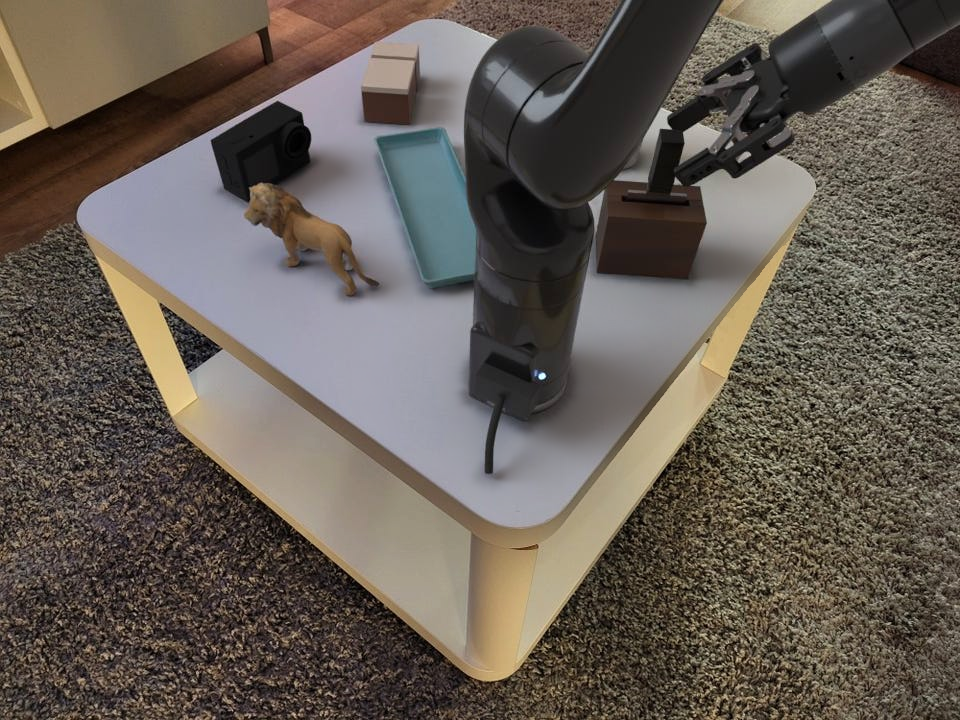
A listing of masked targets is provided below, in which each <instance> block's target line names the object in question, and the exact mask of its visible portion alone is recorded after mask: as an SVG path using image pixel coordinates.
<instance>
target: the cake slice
mask: <svg viewBox="0 0 960 720" xmlns="http://www.w3.org/2000/svg"><path fill="white" fill-rule="evenodd" d="M370 58H381V59H396V60H411V61H415V77H416V94H417V93H418V90H419V86H420V82H421V67H420V66H421V64H420V44H419V43H418V44H417V43H403V42H402V43H401V42H389V41H388V42H387V41H374V44H373V48H372V50H371V53H370Z"/></svg>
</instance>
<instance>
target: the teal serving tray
mask: <svg viewBox="0 0 960 720" xmlns="http://www.w3.org/2000/svg"><path fill="white" fill-rule="evenodd" d="M373 142H374V145H375V147H376V151H377V153H378V155H379V158H380V162H381V164H382V166H383V170H384V173H385V175H386V178H387V181H388V183H389V187H390V189H391V193H392V196H393V200H394V202H395V206H396V207H397V212H398V214H399V216H400V219H401V222H402V224H403V228H404V231H405V234H406V237H407V240H408V243H409V246H410V249H411V251H412V254H413V258H414V261H415V263H416V266H417V270H418V272H419V276H420V279H421V281H422V283H423V284H425V286H427V287H428V288H430V289H437V288H441V287H447V286H453V285H457V284H463V283H469V282H474V274H475V249H476V229H475V226H474V223H473V220H472V218H471V215H470V212H469V209H468V204H467V198H466V181H465V171H464V170H463V168H462V165H461V163H460V160H459V159H458V158H459V157H458V155H457V154H456V152H455V149H454V147H453V144H452V141H451V139H450V137H449V135H448V132H447V130H446V128H445V127H442V126H437V127H431V128H424V129H418V130H417V129H416V130H411V131H410V130H409V131H404V132H395V133H390V134H382V135H377V136H374V138H373Z"/></svg>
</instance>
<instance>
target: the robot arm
mask: <svg viewBox="0 0 960 720" xmlns="http://www.w3.org/2000/svg"><path fill="white" fill-rule="evenodd" d="M724 1H725V0H619V1H618V3H617V5H616V7H615V9H614V11H613V12H612V15H611V16H610V18H609V20H608V22H607V23H606V25H605V27H604V29H603V30H602V32H601V34H600V35H599V38H598V39H597V41H596V42H595V44H594V45H593V47H592V49H591V50H590V52H589V53H588V52H587V51H586V50H584V49H583V48H582V47H580V46H579V45H578V44H576V42H574V41H572V40H571V39H569V38H568V37H567V36H565V35H564V34H562V33H561V32H559V31H557V30H555V29H553V28H550V27H548V26H544V25H525V26H521V27H518V28H515V29H513V30H511V31H509V32H507V33H505V34H503V35H502V36H501V37H499V38H498V39H497V40H496V41H495V42H494V43H492V44H491V46H489V48H488V49H487V50H486V51H485V53H484V54H483V55H482V57H481V59H480V60H479V61H478V64H477V66H476V68H475V70H474V72H473V74H472V76H471V78H470V83H469V85H468V90H467V94H466V98H465V105H464V113H463V114H464V116H463V117H464V118H463V148H464V150H463V151H464V152H463V153H464V174H465V181H466V198H467V204H468V209H469V212H470V215H471V218H472V220H473V223H474V226H475V229H476V249H475V274H474V281H473V304H472V305H473V307H472V308H473V309H472V326H471V328H470V330H469V361H468V362H469V364H468V392H467V393H468V395H469V396H470V397H471V398H474V399H475V400H478V401H480V402H482V403H484V404H486V405H488V406H490V407H491V408H493V409H492V412H491V413H492V414H491V417H490V420H489V425H488V429H487V434H486V440H485V447H484V448H485V449H484V473H485V475H492V474H493V473H494V450H495V441H496V436H497V430H498V426H499V423H500V419H501V415H502V413H505V414H508V415H510V416H512V417H514V418H516V419H518V420H521V421H523V422H526V421H527V420H528V419H529V418H530V416H531V415H533V414H535V413H539V412H541V411H545V410H546V409H548V408H550V407H552V406H553V405H555V404H556V403H557V402H558V401H559V400H560V399H561V397H562V396H563V395H564V393H565V391H566V388H567V385H568V378H569V369H570V364H571V357H572V352H573V346H574V341H575V335H576V331H577V325H578V321H579V315H580V309H581V304H582V299H583V293H584V289H585V288H584V287H585V283H586V279H587V275H588V267H589V262H590V258H591V253H592V247H593V242H594V236H595V229H596V228H595V217H594V213H593V210H592V207H591V204H590V203H589V202H591V201H592V200H594V199H595V198H597V196H599V195H601V193H603V192H604V189H605V188H606V187H607V186H608V185H609V184H610V183H611V182H612V181H613V180H616V178H617V177H618V176H619V174H621V172H622V171H623V170H624V169H623V168H624V167H625V165H626V164H627V162H628V161H629V160H630V158H631V157H632V155H633V154H634V152H635V151H636V149H637V148H638V146H639V145H640V143H641V141H642V140H643V141H644V139H643V138H645V136H646V135H647V133H648V132H649V129H650V128H651V126H652V124H654V123H653V122H654V121H655V119H656V118H657V116H658V114H659V112H660V110H661V109H662V107H663V105H664V104H665V102H666V100H667V98H668V96H669V95H670V93H671V91H672V90H673V88H674V86H675V83H676V82H677V80H678V79H679V78H680V75H681V74H682V71H683V70H684V68H685V66H686V64H687V62H688V61H689V59H690V58H691V55H692V54H693V52H694V51H695V49H696V47H697V45H698V43H699V42H700V40H701V38H702V37H703V34H704V33H705V31H706V29H707V28H708V26H709V25H710V23H711V22H712V20H713V18H714V16H715V15H716V14H717V12H718V10H719V9H720V7H721V6H722V4H723V3H724ZM958 26H960V0H829V2H826V3H825V4H824V5H822V6H821V7H819V8H818V9H816V10H815V11H814V12H812V13H810V14H808V15H807V16H806V17H805V18H802V20H800V21H798V22H797V23H795V24H794V25H793V26H791V27H790V28H788V29H787V30H785V31H783V32H782V33H780V34H779V35H778V36H776V37H774V38H773V39H771V41H769V44H768V48H767V49H768V54H769V57H768V56H767V54H766V53H765V52H764V50H763V48H762V47H761V45H760V44H759V43H758V42H754V43H752V44H750V45H748V46H747V47H745V48H744V49H742V50H741V51H739V52H738V53H736V54H734V55H733V56H731V57H730V58H728V59H726V60H725V61H723V62H722V63H720V64H719V65H717V66H716V67H714V68H713V69H711V70H709V71H708V72H706V73H705V74H704V75H703V76H702V77H701V81H702V83H703V86H702V87H700V89H699V90H698V91H697V95H696V96H695V97H693V98H692V99H690V100H689V101H687V102H686V103H684V104H683V105H682V106H679V108H677V109H676V110H674V111H672V112H671V113H670V114H668V115H667V117H666V121H667V125H668V127H670V129H673V130H683V133H685V132H686V131H688V130H689V129H690V128H693V127H694V126H696V125H697V124H698V123H700V122H702V121H703V120H705V119H706V118H708V117H709V116H711V113H716V112H723V111H727V119H726V120H725V121H724V123H723V124H722V126H721V128H722V129H721V130H722V131H721V133H720V135H719V136H718V137H717V139H715V140H714V142H713V143H712V144H711V146H710V147H709V148H708V147H706V148H704V149H702V150H701V151H699V152H698V153H696V154H694V155H693V156H690V158H688V159H686V160H684V161H683V162H681V163H679V165H678V166H676V167H675V169H674V174H675V179H677V181H678V182H679V183H680V185H683V186H685V187H688V186H695V185H696V184H697V183H699V182H701V181H702V180H704V179H705V178H707V177H709V176H711V175H712V174H714V173H716V172H717V171H721V170H723V171H725V172H726V173H728V175H729V177H731V178H732V179H734V180H735V179H739V178H740V177H742V176H744V175H745V174H747V173H748V172H750V171H751V170H753V169H755V168H756V167H758V166H760V165H762V164H763V163H764V162H766V161H767V160H769V159H771V158H773V157H774V156H775V155H777V154H779V153H780V152H782V151H783V150H785V149H787V148H789V147H790V146H791V145H792V144H793V143H794V142H795V140H796V137H795V136H794V134H793V133H792V131H791V129H790V128H789V127H788V125H787V124H786V122H787V121H788V120H789V119H790V118H791V117H792V116H793V115H795V114H797V113H803V114H804V115H806V116H814V115H816V114H817V113H819V112H821V111H822V110H824V109H825V108H827V107H830V106H831V105H832V104H835V102H837V101H840V100H841V99H842V98H844V97H846V96H847V95H850V94H851V93H853V92H854V91H856V90H857V89H859V88H861V87H863V86H864V85H866V84H869V82H871V81H873V80H874V79H876V78H878V77H879V76H882V75H883V74H884V73H886V72H888V71H890V70H891V69H892V68H894V67H896V65H897V64H899V63H900V62H901V61H902V60H904V59H905V58H907V57H908V56H910V55H911V54H912V53H914V51H917V50H919V49H921V48H922V47H925V45H927V44H929V43H931V42H933V41H934V40H936V39H937V38H939V37H941V36H942V35H944V34H946V33H947V32H949V31H951V30H953V29H954V28H956V27H958ZM726 74H727V75H729V76H726V77H723V76H724V75H726ZM744 133H748V134H747V135H745V134H744ZM731 142H732V144H733V145H731V146H730V147H728V146H729V144H730V143H731ZM727 147H728V148H727ZM746 152H747V153H749V154H750V155H749V156H748V157H746V158H745V159H742V160H741V161H738V160H739V159H740V158H741V157H742V155H743V154H745V153H746Z"/></svg>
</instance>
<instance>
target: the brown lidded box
mask: <svg viewBox="0 0 960 720" xmlns="http://www.w3.org/2000/svg"><path fill="white" fill-rule="evenodd" d="M360 90H361V91H360V93H361V103H362V111H363V121H364V123H377V124H389V125H390V124H391V125H405V126H406V125H407V126H409V125H410V124H411V120H412V116H413V110H414V107H415V103H416V98H417V93H416V77H415V61H411V60H396V59H381V58H371V57H370V58H369V60H368V62H367V66H366V69H365V72H364V75H363V77H362V81H361V85H360Z"/></svg>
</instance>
